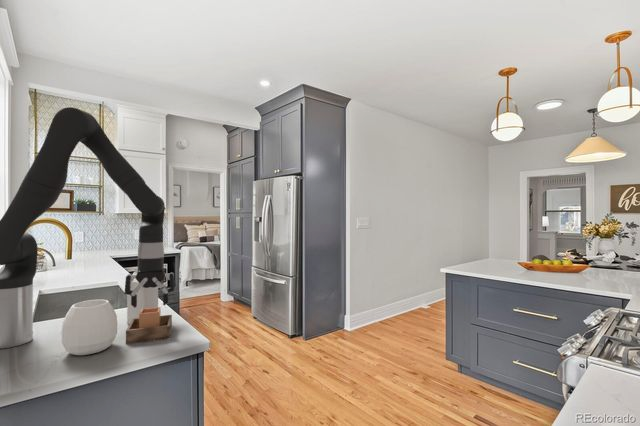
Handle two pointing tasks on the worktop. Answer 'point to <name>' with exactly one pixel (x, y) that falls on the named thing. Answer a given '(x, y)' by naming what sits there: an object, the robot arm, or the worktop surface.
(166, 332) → the walnut crate
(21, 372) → the worktop surface
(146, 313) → the terracotta crate
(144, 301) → the milk carton
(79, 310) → the white round vase
